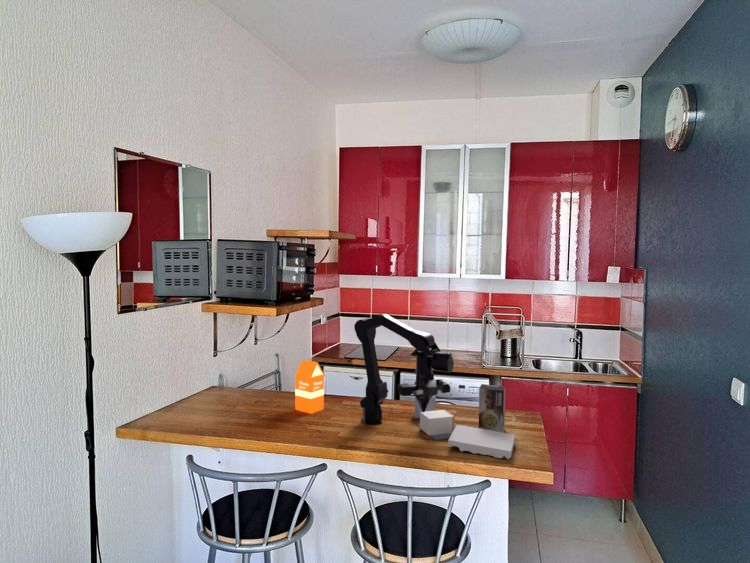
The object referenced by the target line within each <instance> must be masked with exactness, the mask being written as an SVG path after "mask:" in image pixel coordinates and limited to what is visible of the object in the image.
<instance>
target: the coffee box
mask: <svg viewBox="0 0 750 563" xmlns="http://www.w3.org/2000/svg"><path fill="white" fill-rule="evenodd" d="M480 384H481V385H480V386H479V388H478V427H477V428H479V429H485V430H491V431H497V432H503V433H505V425H506V424H505V421H506V420H505V417H506V416H505V415H506V414H505V413H506V412H505V411H506V386H505V385H496V384H485V383H480Z"/></svg>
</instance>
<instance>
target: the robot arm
mask: <svg viewBox="0 0 750 563" xmlns="http://www.w3.org/2000/svg"><path fill="white" fill-rule="evenodd" d="M353 327H354V331H355V334H356V337H357V339H358V341H359V342H360V343H361V348H362V354H363V360H364V365H365V366H364V368H365V372H366V377H367V382H366V387H365V397H363V398H362V399H361V400H360V401H359V405H360V408H362V417H361V421H362V422H363V423H364V424H365V425H376V424H377V425H378V424H383V421H382V420H383V409H382V405H383V404H384V401H385V400H386V399H387V397H388V393H389V389H388V385H387V381H383V380H382V378H381V374H380V369H379V362H378V358H377V351H376V345H375V338H376V334H377V328H379V327H384V328H386V329H387V330H390V331H391V332H393V333H395V334H396V335H398V336H400V337H401V338H403V339H405V340H406V341H407V342H408V343H409V344H410V345H411V346H412V347H413V348H414V351H413V352H411V353H410V356H413V357H415V358H416V359H415V360H416V361H415V370H414V374H415V381H414V385H410V384H408V383H399V384H398V385H397V386H396V392H397V394H399V395H400V396H403V397H407V396H411V395H412V394H413V395H414V397H415V396H416V398H417V400H418V403H419V406H420V408H421V411H422V412H425V410H426V407H427V405H428V402H429V400H430V398H431V397H432V396H435V397H436V395H438V394H439V391H441V393H443V394H446V393H448V394H449V393H451V385H450V384H449V383H447V382H446V381H444V380H443V378H441V379H435V376H434V375H435V374H434V372H433V371H435V372H443V373H449V374H451V373H452V372H453V369H454V366H455V361H454V358H453V356H452V352H442V351H441V350H440V347H439V346H438V344H437V343H436V342H435V337H434V335H432V333H429V332H425V331H423V330H418V329H414V328H412V327H410V326H408V325H407V324H406V323H403V322H401V321H399V320H397V319H396V318H394V317H392V316H390V315H389V314H388V313H380V314H378V315H376V316H373V317H371V318H370V317H369V318H367V317H366V318H363V319H361V318H360V319H358V320H357V321H356V322H355V324H354V326H353Z"/></svg>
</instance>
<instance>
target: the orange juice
mask: <svg viewBox="0 0 750 563" xmlns="http://www.w3.org/2000/svg"><path fill="white" fill-rule="evenodd" d="M324 376H325V374H324V373H323V370H322V368H321V367H320V364H319V363H318V362H316V361H313V360H306V359H302V360H301V361H300V364H299V365H298V368H297V371H296V373H295V389H294V391H295V393H294V395H295V397H294V398H295V400H294V401H295V404H294V406H295V407H294V409H295V410H296V411H299V412H303V413H305V414H306V413H307V414H310V415H312V414H314V413H317V412H320V411H322V410H324V409H325V408H324V404H325V401H324V400H325V398H324V395H325V389H324V388H325V386H324V385H325V377H324Z"/></svg>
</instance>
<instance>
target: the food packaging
mask: <svg viewBox="0 0 750 563" xmlns="http://www.w3.org/2000/svg"><path fill="white" fill-rule="evenodd" d="M456 425H457V426H456V427H455V429H454V431H453V433H452V434H451V436H450V438H449V439H447V442H448V443H447V445H448V446H453V447H457V448H458V449H459V451H460V452H465V451H466V452H469V453H471V454H474V455H475V454H480V455H482V456H493V458H496V459H497V458H498V459H502V458H505V459H507V460H510V459H511V458H512V454H513V450H514V449H513V448H514V444H515V439H516V434H513V433H510V432H509V433H507V432H504V433H503V432H497V431H491V430H485V429H479V428H478V427H471V426H467V425H461V424H456Z"/></svg>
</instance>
